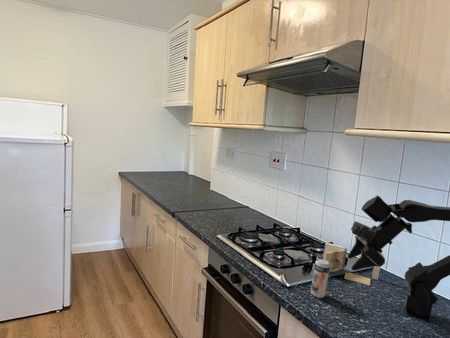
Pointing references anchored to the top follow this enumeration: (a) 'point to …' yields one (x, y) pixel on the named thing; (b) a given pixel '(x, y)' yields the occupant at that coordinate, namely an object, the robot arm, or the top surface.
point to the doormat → (357, 278)
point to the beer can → (320, 278)
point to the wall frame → (333, 247)
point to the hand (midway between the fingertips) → (350, 263)
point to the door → (335, 259)
